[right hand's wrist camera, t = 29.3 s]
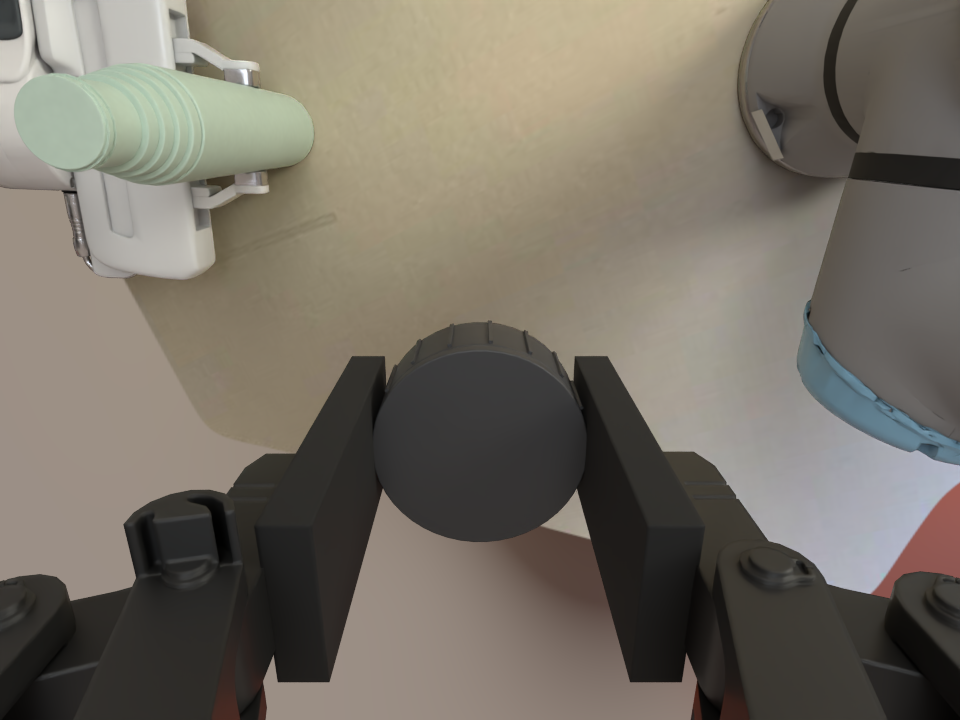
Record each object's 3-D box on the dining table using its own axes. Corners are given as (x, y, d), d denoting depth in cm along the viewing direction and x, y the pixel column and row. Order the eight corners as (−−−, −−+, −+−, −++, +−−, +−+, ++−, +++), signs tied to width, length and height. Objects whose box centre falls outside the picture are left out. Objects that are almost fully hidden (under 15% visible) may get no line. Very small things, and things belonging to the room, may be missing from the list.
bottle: (283, 181, 48) (78, 227, 23) (230, 128, 46) (-45, 119, 22) (328, 132, 47) (162, 127, 22) (275, 77, 45) (36, 6, 21)
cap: (606, 451, 15) (624, 495, 13) (438, 521, 15) (433, 573, 14) (527, 285, 13) (535, 309, 12) (347, 371, 14) (327, 407, 12)
